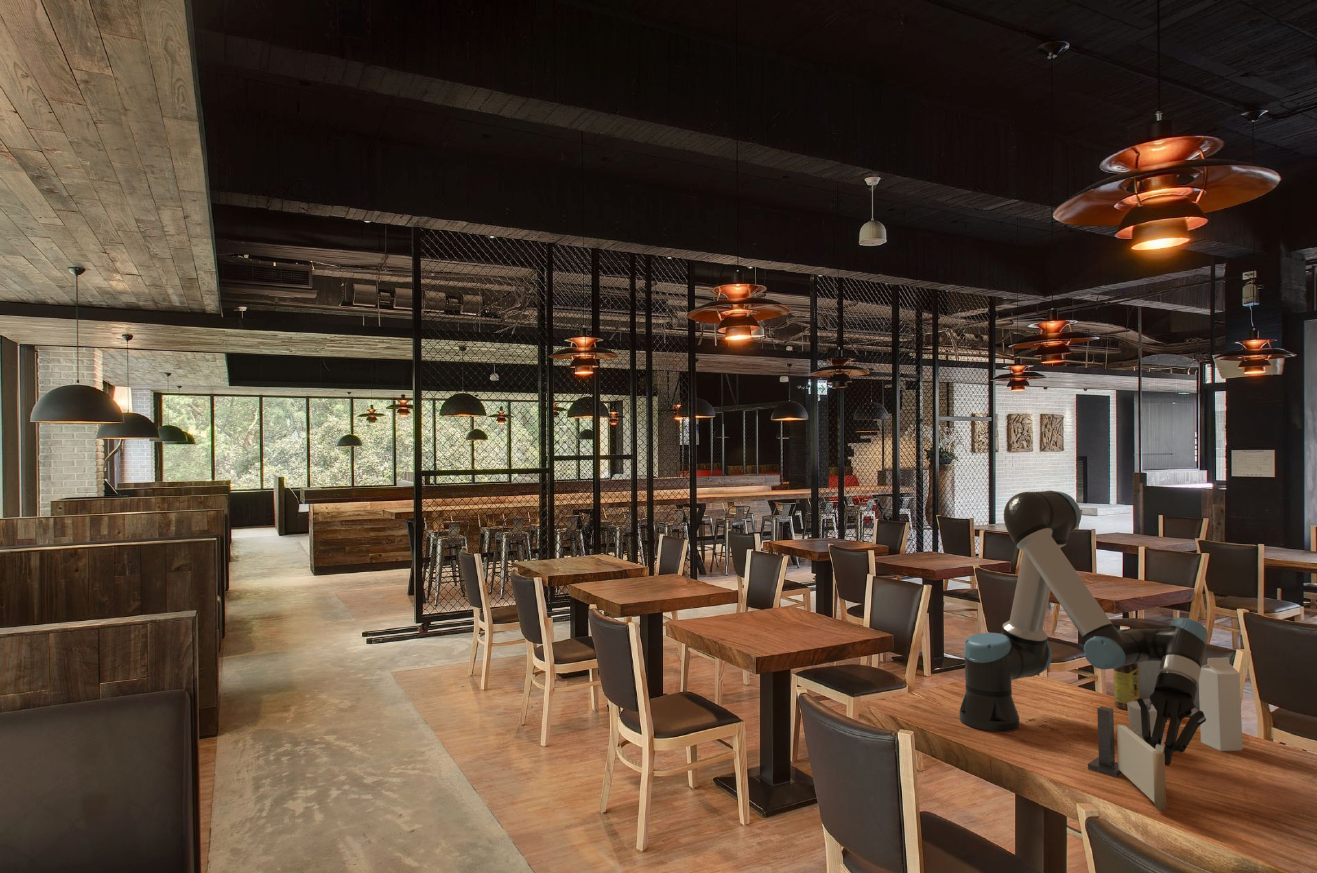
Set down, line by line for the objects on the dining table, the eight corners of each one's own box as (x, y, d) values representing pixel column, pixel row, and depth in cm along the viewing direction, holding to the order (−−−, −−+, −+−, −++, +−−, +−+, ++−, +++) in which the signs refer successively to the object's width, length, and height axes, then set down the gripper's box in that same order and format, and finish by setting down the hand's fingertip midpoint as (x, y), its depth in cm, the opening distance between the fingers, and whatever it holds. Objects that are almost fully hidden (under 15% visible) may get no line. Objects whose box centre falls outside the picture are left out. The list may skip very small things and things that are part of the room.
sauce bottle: (1140, 712, 210) (1137, 642, 211) (1114, 709, 214) (1112, 639, 215) (1139, 706, 216) (1137, 637, 217) (1114, 702, 219) (1112, 635, 220)
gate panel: (1117, 771, 169) (1115, 722, 169) (1126, 771, 168) (1125, 722, 169) (1157, 809, 150) (1155, 754, 150) (1168, 810, 150) (1166, 755, 150)
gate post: (1088, 769, 172) (1086, 708, 173) (1098, 762, 176) (1096, 702, 177) (1116, 777, 168) (1114, 714, 168) (1126, 770, 171) (1124, 709, 172)
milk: (1200, 742, 188) (1196, 655, 189) (1222, 741, 189) (1218, 654, 190) (1221, 751, 182) (1216, 661, 183) (1243, 750, 183) (1239, 660, 184)
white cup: (1172, 753, 181) (1170, 712, 181) (1136, 751, 183) (1135, 710, 183) (1157, 741, 189) (1156, 702, 189) (1123, 739, 190) (1121, 700, 191)
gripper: (1215, 696, 165) (1196, 795, 154) (1148, 683, 175) (1125, 775, 164) (1208, 677, 162) (1187, 776, 150) (1140, 665, 172) (1116, 757, 160)
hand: (1155, 775), depth 157 cm, fingers closed
